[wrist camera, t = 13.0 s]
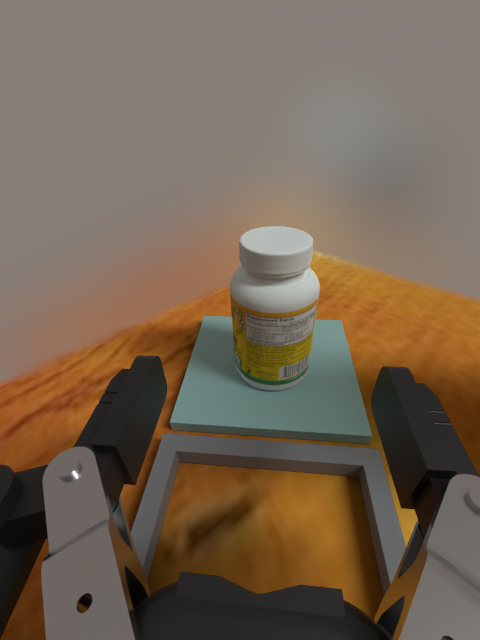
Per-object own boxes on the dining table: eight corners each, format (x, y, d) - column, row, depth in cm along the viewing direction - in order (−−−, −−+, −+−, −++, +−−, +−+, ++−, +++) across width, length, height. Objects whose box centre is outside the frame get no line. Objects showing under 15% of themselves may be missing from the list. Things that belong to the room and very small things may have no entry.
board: (171, 430, 19) (169, 422, 19) (205, 322, 28) (204, 315, 27) (369, 443, 18) (372, 436, 18) (339, 327, 27) (341, 320, 26)
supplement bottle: (303, 400, 20) (322, 266, 14) (224, 384, 21) (211, 255, 15) (312, 346, 24) (329, 224, 18) (246, 335, 25) (242, 219, 19)
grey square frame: (49, 825, 9) (30, 834, 8) (167, 444, 18) (163, 433, 18) (490, 919, 8) (514, 939, 7) (373, 460, 17) (378, 448, 16)
